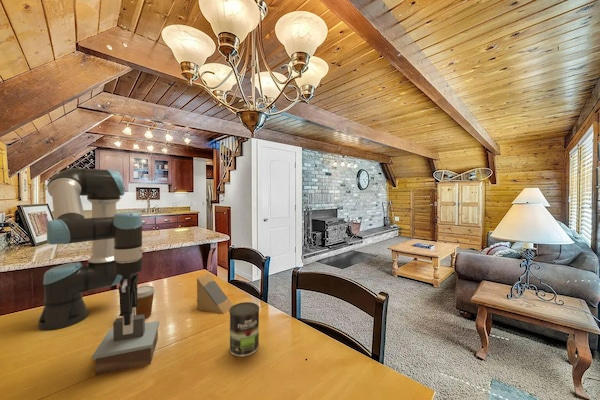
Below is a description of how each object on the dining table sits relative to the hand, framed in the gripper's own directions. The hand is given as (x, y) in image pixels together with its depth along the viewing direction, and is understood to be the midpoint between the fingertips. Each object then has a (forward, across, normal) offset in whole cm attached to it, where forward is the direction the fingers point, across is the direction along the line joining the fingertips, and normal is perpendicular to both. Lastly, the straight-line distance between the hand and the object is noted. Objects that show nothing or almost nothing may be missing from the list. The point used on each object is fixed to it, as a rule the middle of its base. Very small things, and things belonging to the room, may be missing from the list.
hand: (129, 330), depth 81 cm
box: (+9, 0, 0) cm, 9 cm away
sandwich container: (+10, +27, -29) cm, 40 cm away
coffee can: (+9, -8, -36) cm, 38 cm away
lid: (+3, 0, 0) cm, 3 cm away
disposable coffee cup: (+10, +30, +2) cm, 31 cm away
